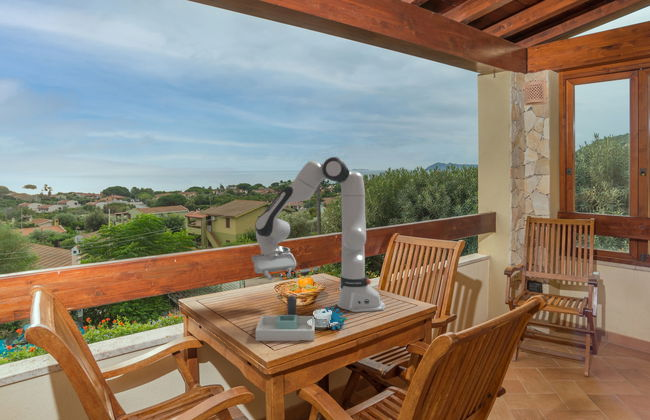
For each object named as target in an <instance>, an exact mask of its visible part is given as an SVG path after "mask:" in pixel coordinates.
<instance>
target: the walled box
mask: <svg viewBox="0 0 650 420" xmlns="http://www.w3.org/2000/svg"><path fill="white" fill-rule="evenodd" d="M313 316H314V315H298V314H296V315H287V314H277V315H261V316H260V318H259V320H258V323H257V326H256V329H255V342H256V341H257V342H258V341H259V342H270V341H271V342H300V341H299V340H314V341H315V327H316V326H315V325H316V324H315V322H316V321H315V319H316V318H315V319H314V318H313ZM310 319H312V327H310V326H309V325H308V324H307V321H308V320H310Z"/></svg>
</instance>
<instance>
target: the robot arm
mask: <svg viewBox="0 0 650 420" xmlns="http://www.w3.org/2000/svg"><path fill="white" fill-rule="evenodd" d="M363 177H364V176H363V175H362V173H360V172H358V171H352V170H351V171H350V170H349V168H348V166H347V164H346V162H345V161H344V160H343V159H342V158H340V157H338V156H332V157H331V156H330V157H329V158H327V159H325V161H324V162H323V163H320V162H318V161H316V160H310V161H308V162H307V163H306V164H304V166H303V167H302V168H301V170H300V171H299V172H298V174H297V175H296V177H295V178H294V180H293V181H292V182H291V183H290V184H289V185H288V186H285V187H284V188H283V189H282V190H281V191H280V192H279V193H278V194H277V196H276V197H275V198H274V199H273V200H272V202H271V203H270V204H269V206H268V207H267V209H266V210H265V211H264V212H263V213H262V214H260V215H259V217H257V219H256V221H255V222H254V223H255V224H254V227H255V238H256V241H257V245H258V247H259V248H260V253H261V254H254V255H253V256H252V257H251V261H252V263H253V268H254V272H255V273H256V274H257V275H258V274H263V275H264V276H265V277H266V278H267V280H268V281H272V280H273V275H272V274H270V273H274V272H282V271H286V272H287V273H286V275H285V276H286V278H290V279H291V277H292V274H291V272H292V271H293V270H295V269H296V267H297V260H296V258H295V257H294V255H293V253H292V252H291V249H290V247H286V246H282V245H279V243H282V242H284V241H285V240H286V239H288V238H289V236H290V235H291V225H290V223H289V222H288V221H286V220H283V219H279V218H277V217H278V216H279V215H280V214H281V212H283V211H282V210H283V209H284V208H285V207H286V206H287V205H289V204H291V203H295V202H296V203H297V202H305V201H308V200H310V199H311V198H312V197H313V195H314V194H315V193H316V191H317V189H318V187H319V185H320V184H321V183H322V181H324V180H329V181H331V182H335V183H339V185H340V188H341V189H340V190H341V191H340V192H341V194H340V195H341V197H340V198H341V204H340V205H341V276H340V279H339V287H340V290H339V291H340V292H339V299H338V301H337V306H338V307H339V308H340V309H343V310H347V311H349V312H352V313H359V312H375V311H384V310H385V309H386V304H385V303H384V301H382V300H381V295H380V294H379V292H378V291H377V290H376V289H375V288H374V287H372V286H371V285H370V284H371V283H372V282H371V280H370V279H369V277H367V276H366V272H365V271H366V270H365V268H366V258H365V257H366V255H365V252H366V251H365V244H366V243H367V224H366V223H367V221H366V220H367V219H366V189H365V180H364V178H363Z"/></svg>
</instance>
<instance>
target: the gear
mask: <svg viewBox="0 0 650 420" xmlns="http://www.w3.org/2000/svg"><path fill="white" fill-rule="evenodd" d="M334 309H335V307H334V306H331V307H330V308H329V307H326V308H325V310H322V312H321V314H322V313H327V312H331V311H332V315H331V320H330V323H333V322H338V324H336V325H334V326H331V330H332V329H334V330H333V331H335V330H336V329H337V330H340V329H341V327H342V326H344V325H345V321H347V320H348V317H347V316H344V313H343V312H342V311H341V312H340V309H339V308H336V309H335V310H334ZM329 310H330V311H329ZM338 312H339V313H338ZM336 326H337V327H336Z"/></svg>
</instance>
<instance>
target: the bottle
mask: <svg viewBox="0 0 650 420" xmlns="http://www.w3.org/2000/svg"><path fill="white" fill-rule="evenodd" d="M286 301H287V302H286V303H287V304H286V315H297V296H295V295H294V294H290V295H289V296H287V299H286Z"/></svg>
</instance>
